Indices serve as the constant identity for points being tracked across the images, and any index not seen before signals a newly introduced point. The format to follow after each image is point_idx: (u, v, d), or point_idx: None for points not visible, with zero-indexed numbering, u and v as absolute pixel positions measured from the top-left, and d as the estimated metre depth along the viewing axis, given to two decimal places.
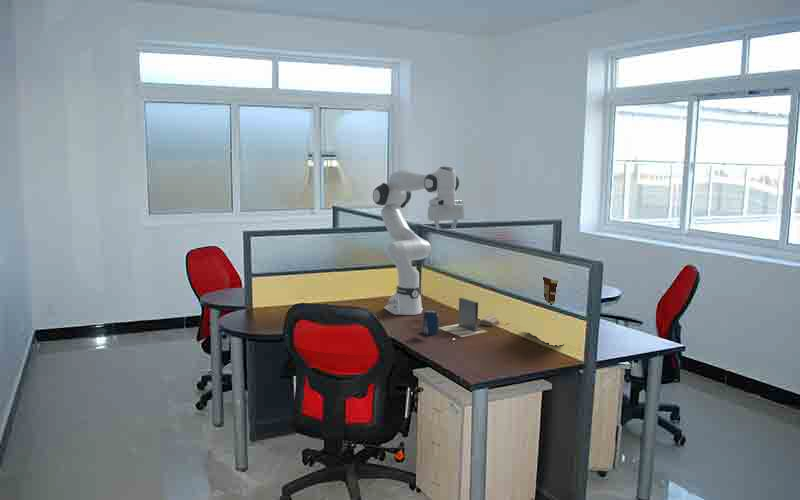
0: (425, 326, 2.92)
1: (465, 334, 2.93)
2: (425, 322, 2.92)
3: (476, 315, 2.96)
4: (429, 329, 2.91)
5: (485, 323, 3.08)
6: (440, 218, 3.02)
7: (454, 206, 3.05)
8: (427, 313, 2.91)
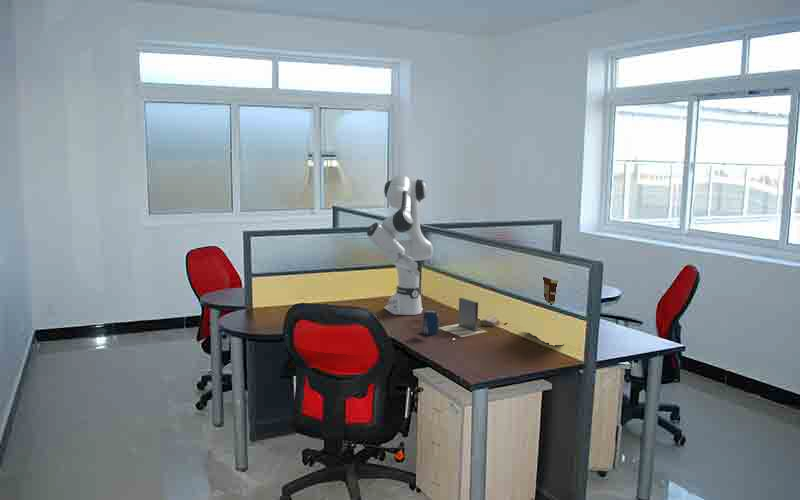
0: (425, 326, 2.92)
1: (465, 334, 2.93)
2: (425, 322, 2.92)
3: (476, 315, 2.96)
4: (429, 329, 2.91)
5: (486, 323, 3.08)
6: (400, 266, 2.94)
7: (399, 260, 2.84)
8: (427, 313, 2.91)
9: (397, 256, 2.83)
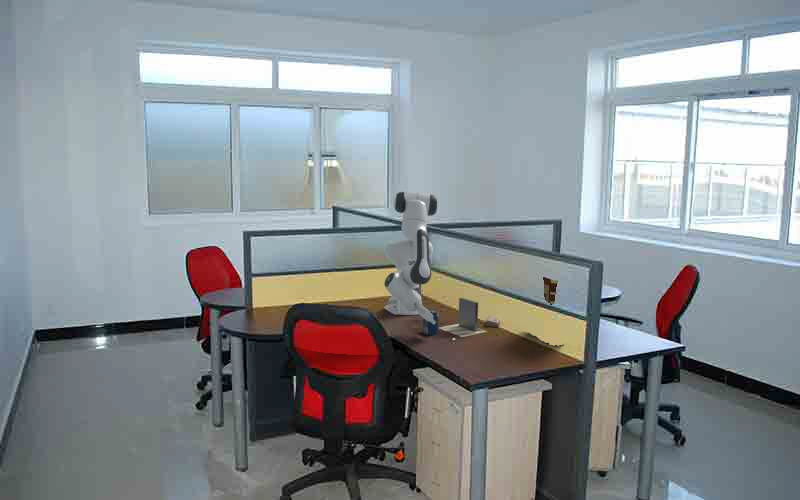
0: (425, 326, 2.92)
1: (465, 334, 2.93)
2: (425, 322, 2.92)
3: (476, 315, 2.96)
4: (429, 329, 2.91)
5: (490, 324, 3.07)
6: (418, 313, 2.97)
7: (415, 310, 2.88)
8: None
9: (413, 306, 2.86)
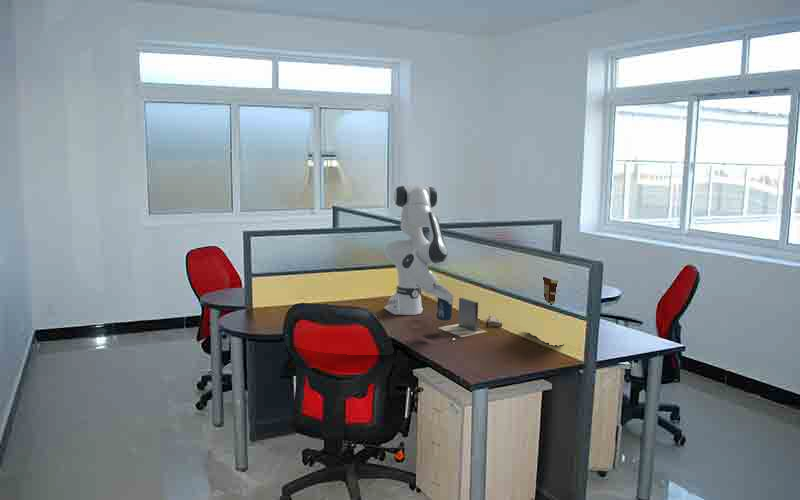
0: (440, 309, 2.91)
1: (465, 334, 2.93)
2: (441, 305, 2.91)
3: (476, 315, 2.96)
4: (445, 313, 2.90)
5: (493, 324, 3.06)
6: (430, 294, 2.95)
7: (433, 290, 2.85)
8: None
9: (432, 287, 2.84)
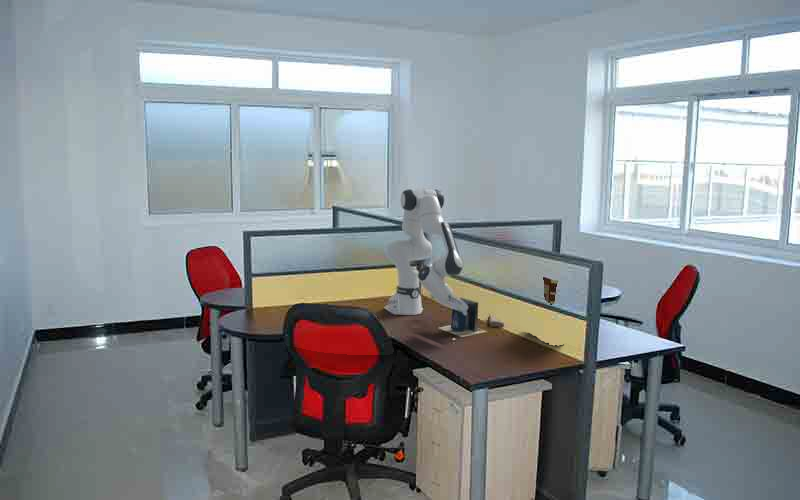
0: (455, 320, 2.96)
1: (465, 334, 2.93)
2: (455, 316, 2.95)
3: (476, 315, 2.96)
4: (460, 323, 2.95)
5: (495, 324, 3.06)
6: (445, 305, 3.00)
7: (449, 302, 2.90)
8: None
9: (447, 298, 2.89)
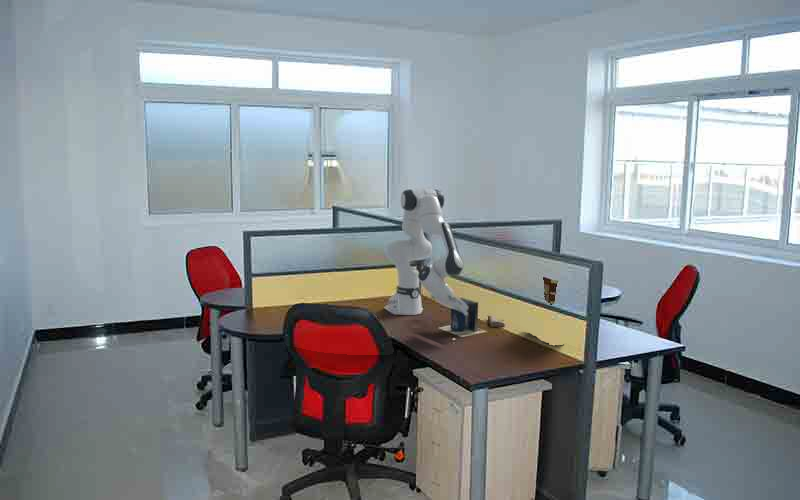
0: (454, 321, 2.96)
1: (465, 334, 2.93)
2: (454, 317, 2.95)
3: (476, 315, 2.96)
4: (459, 324, 2.95)
5: (496, 324, 3.06)
6: (445, 305, 3.00)
7: (449, 302, 2.90)
8: None
9: (448, 298, 2.89)
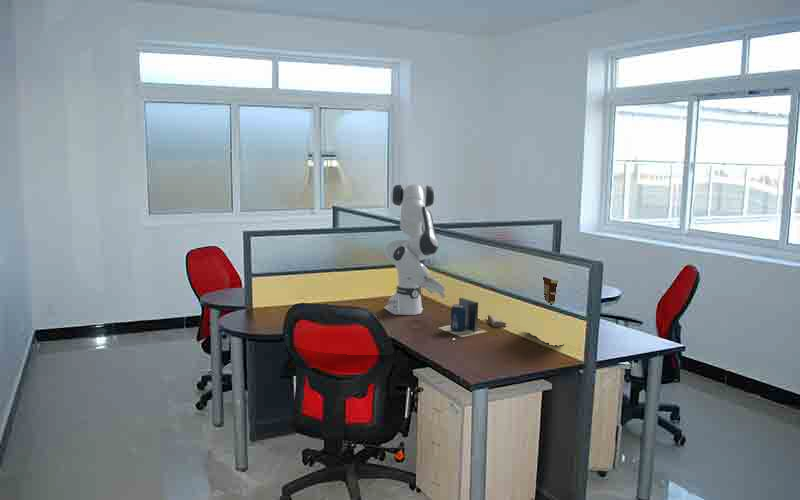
0: (454, 321, 2.96)
1: (465, 334, 2.93)
2: (454, 317, 2.95)
3: (476, 315, 2.96)
4: (459, 324, 2.95)
5: (498, 324, 3.06)
6: (422, 287, 2.93)
7: (425, 283, 2.83)
8: (456, 308, 2.95)
9: (423, 279, 2.81)
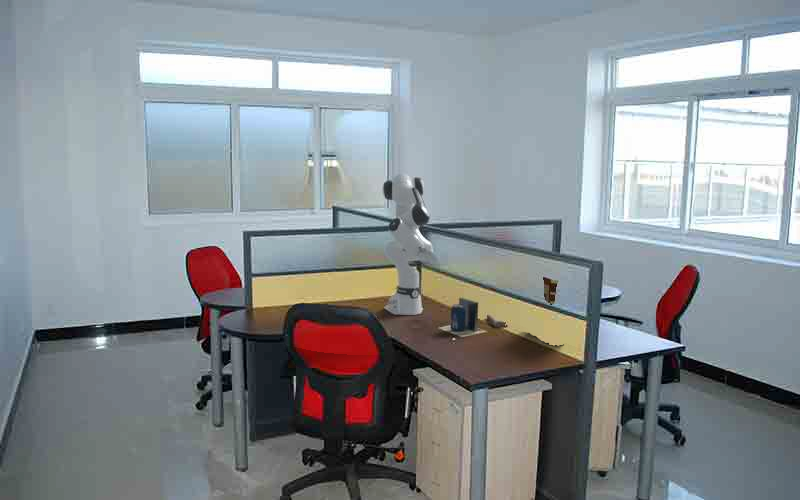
0: (454, 321, 2.96)
1: (465, 334, 2.93)
2: (454, 317, 2.95)
3: (476, 315, 2.96)
4: (459, 324, 2.95)
5: (500, 324, 3.06)
6: (417, 258, 3.04)
7: (419, 254, 2.94)
8: (456, 308, 2.95)
9: (418, 250, 2.93)
